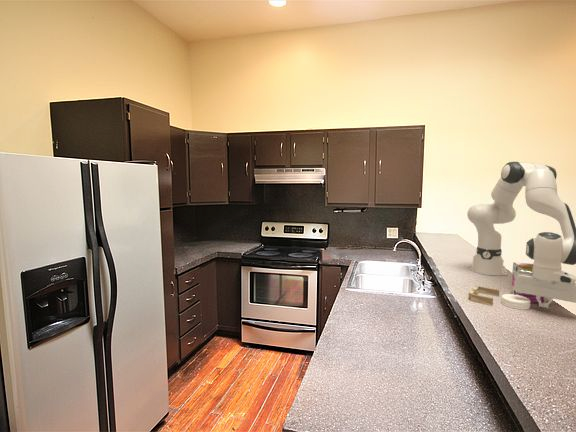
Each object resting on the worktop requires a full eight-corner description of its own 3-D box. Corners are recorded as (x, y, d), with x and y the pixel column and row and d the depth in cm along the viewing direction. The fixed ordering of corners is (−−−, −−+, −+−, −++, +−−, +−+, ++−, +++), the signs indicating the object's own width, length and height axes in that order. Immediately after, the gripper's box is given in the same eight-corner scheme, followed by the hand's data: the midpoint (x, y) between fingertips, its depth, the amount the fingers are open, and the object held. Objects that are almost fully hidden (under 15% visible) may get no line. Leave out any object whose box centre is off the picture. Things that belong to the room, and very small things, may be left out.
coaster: (522, 302, 138) (523, 294, 137) (535, 311, 128) (535, 302, 128) (496, 300, 140) (497, 292, 139) (507, 309, 130) (508, 300, 130)
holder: (476, 291, 150) (476, 285, 150) (499, 296, 144) (499, 290, 144) (467, 300, 139) (468, 293, 139) (492, 305, 133) (492, 299, 133)
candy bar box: (513, 301, 138) (516, 264, 136) (509, 297, 143) (512, 261, 141) (544, 304, 134) (547, 266, 133) (539, 300, 139) (542, 263, 137)
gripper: (513, 270, 131) (510, 302, 132) (580, 280, 117) (577, 316, 118) (515, 267, 135) (513, 298, 137) (580, 276, 122) (577, 311, 123)
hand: (543, 307), depth 128 cm, fingers closed
